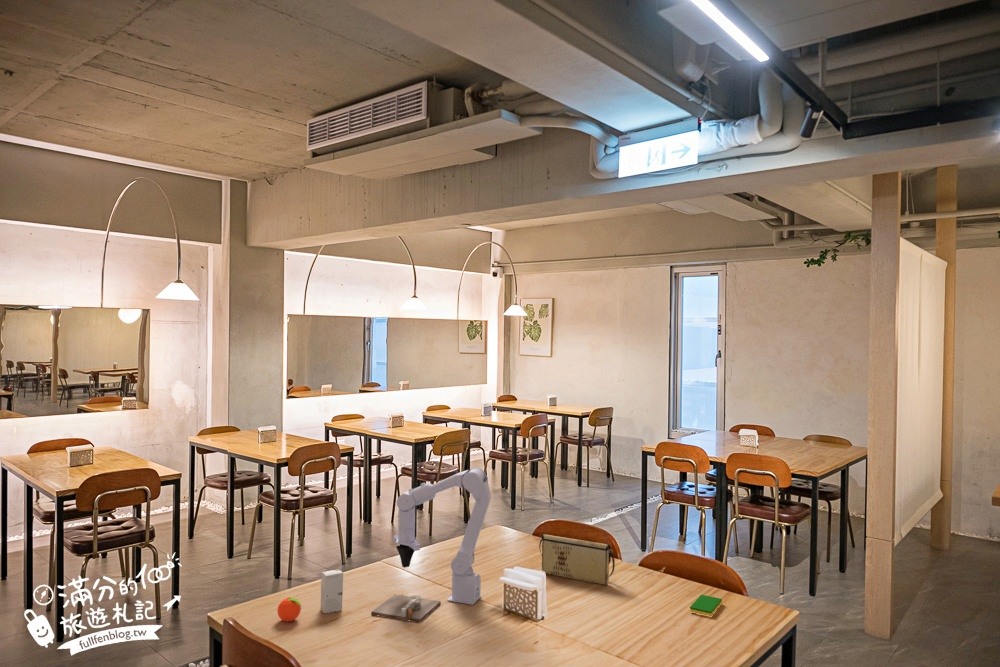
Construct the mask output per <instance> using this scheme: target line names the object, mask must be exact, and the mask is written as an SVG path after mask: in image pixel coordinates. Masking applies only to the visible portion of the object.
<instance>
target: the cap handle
mask: <svg viewBox="0 0 1000 667" xmlns="http://www.w3.org/2000/svg"><path fill="white" fill-rule="evenodd" d="M421 598H422V597H421V596H420V595H411V596H410V601H409V602H408V603H407V604H406V605H405V606H404V607H403V608H402V609H401V617H406V616H407V610H408V609H412V610H413V609H414V608H415V607H419V606H420V605H421Z"/></svg>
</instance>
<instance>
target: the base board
mask: <svg viewBox="0 0 1000 667" xmlns="http://www.w3.org/2000/svg"><path fill="white" fill-rule="evenodd" d="M410 597H411V596H408V595H401V594H394V595H392V596H391V597H389V598H388V599H386V600H385V601H384V602H382V603H381V604H380V605H378V606H377V607H376V608H374V609H373V610H372V611H371V612H370V615H371V616H376V615H379V616H378V617H382V616H383V617H384V618H388V617H391V618H390V619H394V618H398V619H397V620H400V619H403V620H402V621H407V620H410V621H409V622H413V621H416V622H415V623H419V622H420V623H422V621H424V620H425V617H426V616H427V615H428V614H429V615H430V614H431V613H433V612H434V611H435V610H436V609H437V608H438V607H439V606H440V605H441V600H435V599H429V598H423V597H421V605H420V606H419V607H415V608H414V609H413V610H412V609H408V610H407V616H406V617H401V609H402V608H403V607H404V606H405V605H406V604H407V603H408V602H409V601H410ZM437 606H438V607H437ZM436 607H437V608H436ZM435 608H436V609H435ZM434 609H435V610H434ZM429 615H428V616H429ZM428 616H427V617H428ZM383 617H382V618H383ZM427 617H426V618H427Z"/></svg>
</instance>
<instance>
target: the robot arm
mask: <svg viewBox="0 0 1000 667" xmlns="http://www.w3.org/2000/svg"><path fill="white" fill-rule="evenodd" d="M453 487H458V488H459V489H462V488H464V489H465V491H467V492H469V493H470V494H471V496H472V497H473V499H474V500H475V502H474V506H473V508H472V512H471V514H470V517H469V520H468V523H467V526H466V529H465V533H464V535H463V537H462V542H461V545H460V547H459V548H458V550H457V554H456V555H455V556H454V558H452V560H451V563H450V568H451V572H452V573H451V595H450V596H449V597H448V598H447V601H448V602H452V601H453V602H455V603H460V604H467V605H474V604H475V603H476V602H477V601H478V600H480V598H482V595H481V588H482V587H481V586H482V585H481V582H482V579H481V575H480V574H478V573H476V572H474V569H473V564H474V563H475V559H476V558H475V552H476V551H475V550H476V545H477V542H478V540H479V536H480V533H481V530H482V527H483V524H484V521H485V518H486V515H487V512H488V509H489V506H490V503H491V500H492V495H491V494H492V493H491V489H490V485H489V478H488V476H487V474H486V473H485V471H484V470H483V469H481V468H479V467H473V468H470V470H469V469H466V470H464V471H460V472H457V473H455V474H453V475H451V476H449V477H447V478H445V479H442V480H440V481H437V482H436V483H434V484H432V483H429V482H426V483H425V482H422V483H420V486H417V487H415V488H410V489H408V490H407V491H405V492H403V493H402V494H400V495H399V496H398V497H397V500H396V507H397V508H398V520H397V521H398V524H397V526H398V529H397V531H398V532H397V533H398V534H395V535H393V539H392V541H393V542H395V543H394V544H396V545H397V546H396V550H397V552H398V556H399V557H400V562H401V567H402V568H404V569H405V568H409V567H410V565H411V561H412V558H413V555H414V553H415V552H417V551H418V552H419V551H421V544H420V543H418V542H417V540H416V506H419V505H421V504H424V503H427V502H429V501H432V500H434V499H435V497H436V494H438V493H440V492H443V491H445V490H448V489H451V488H453ZM453 602H452V603H453Z"/></svg>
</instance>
